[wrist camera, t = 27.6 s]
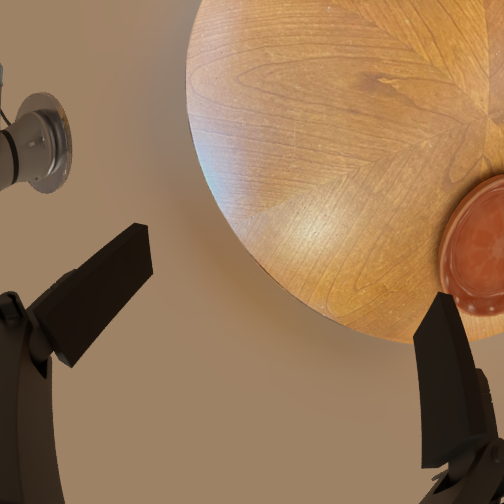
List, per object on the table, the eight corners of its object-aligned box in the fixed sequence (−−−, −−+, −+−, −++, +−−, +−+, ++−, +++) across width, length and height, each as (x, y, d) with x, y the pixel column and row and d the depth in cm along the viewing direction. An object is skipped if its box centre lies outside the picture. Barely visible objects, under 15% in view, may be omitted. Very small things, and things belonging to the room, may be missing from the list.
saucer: (517, 308, 34) (524, 321, 31) (416, 297, 40) (419, 312, 37) (563, 189, 23) (575, 198, 20) (454, 151, 28) (465, 157, 25)
